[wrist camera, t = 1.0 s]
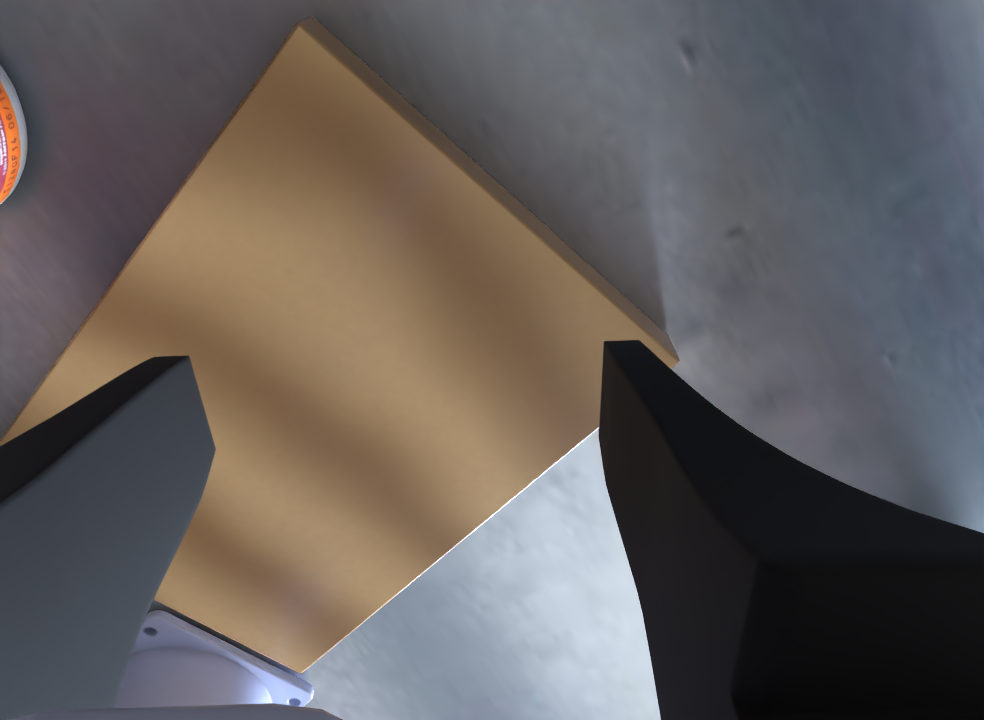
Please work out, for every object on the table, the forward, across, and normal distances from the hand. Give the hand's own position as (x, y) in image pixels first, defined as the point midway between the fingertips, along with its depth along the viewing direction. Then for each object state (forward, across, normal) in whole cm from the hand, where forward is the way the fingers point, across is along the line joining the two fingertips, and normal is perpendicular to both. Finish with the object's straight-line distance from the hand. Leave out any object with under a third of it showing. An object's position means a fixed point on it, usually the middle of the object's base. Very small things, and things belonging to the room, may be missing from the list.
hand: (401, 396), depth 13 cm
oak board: (+10, +5, +7) cm, 13 cm away
